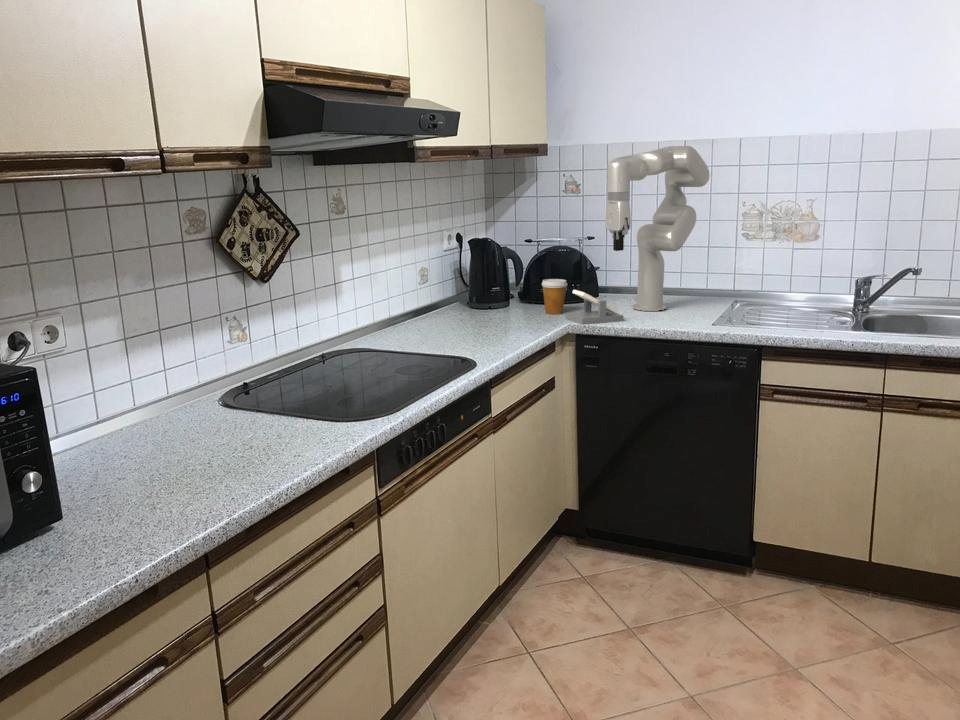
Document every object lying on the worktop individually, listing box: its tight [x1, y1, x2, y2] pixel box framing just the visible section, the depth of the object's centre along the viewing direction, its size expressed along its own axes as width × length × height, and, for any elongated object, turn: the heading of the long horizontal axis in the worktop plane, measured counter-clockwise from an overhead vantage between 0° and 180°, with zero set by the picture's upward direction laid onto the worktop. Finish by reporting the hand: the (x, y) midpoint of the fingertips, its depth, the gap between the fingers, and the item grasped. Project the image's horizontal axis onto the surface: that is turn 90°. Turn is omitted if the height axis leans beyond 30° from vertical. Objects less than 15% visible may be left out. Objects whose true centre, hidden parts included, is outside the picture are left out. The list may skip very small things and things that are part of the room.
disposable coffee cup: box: [541, 278, 568, 315], centre depth 287 cm, size 10×10×12 cm
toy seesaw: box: [565, 299, 624, 325], centre depth 273 cm, size 12×16×8 cm
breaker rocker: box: [572, 289, 619, 314], centre depth 273 cm, size 8×15×1 cm, turn 111°
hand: (618, 250), depth 274 cm, fingers closed
